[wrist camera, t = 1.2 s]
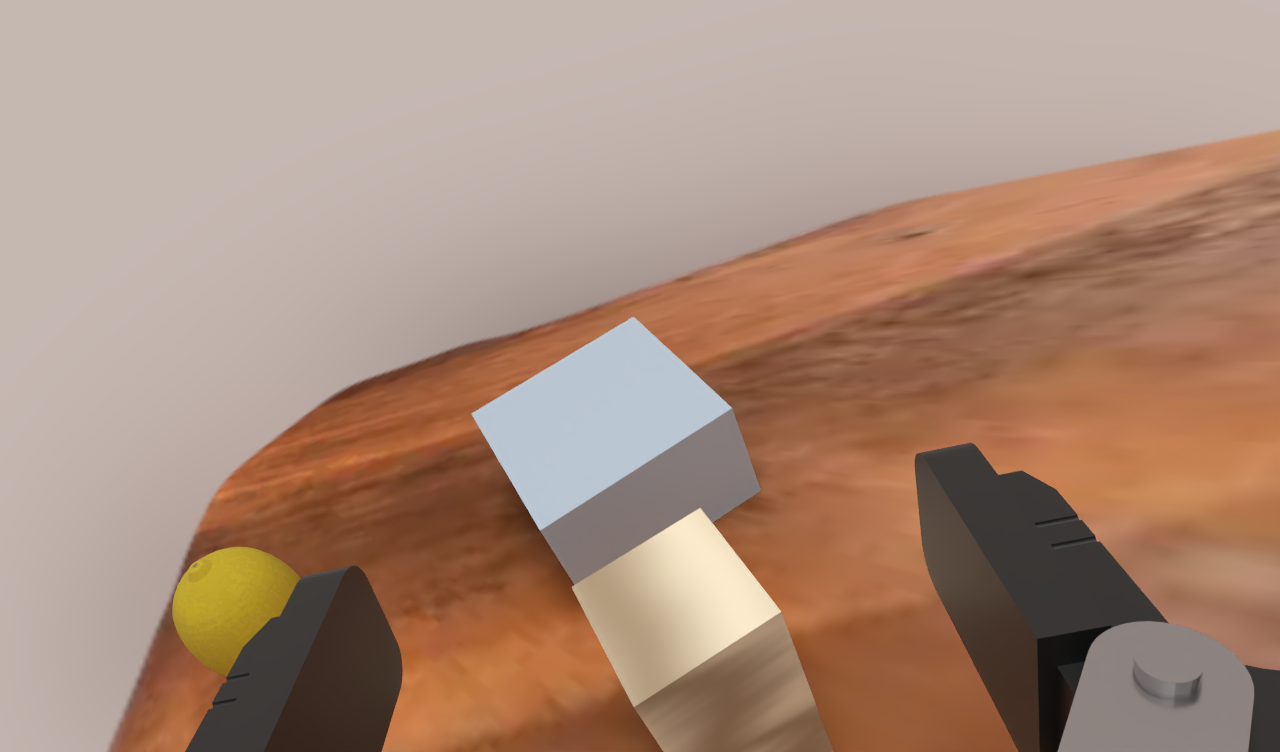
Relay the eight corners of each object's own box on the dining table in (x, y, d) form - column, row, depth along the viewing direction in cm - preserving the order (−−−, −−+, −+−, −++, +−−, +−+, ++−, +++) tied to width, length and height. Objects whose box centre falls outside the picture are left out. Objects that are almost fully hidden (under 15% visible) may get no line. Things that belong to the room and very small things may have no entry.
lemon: (364, 637, 42) (271, 542, 37) (275, 730, 40) (162, 641, 35) (312, 593, 46) (221, 501, 41) (227, 675, 43) (119, 588, 38)
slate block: (666, 395, 49) (633, 316, 45) (762, 493, 41) (732, 408, 37) (517, 487, 47) (471, 413, 43) (589, 607, 39) (540, 530, 36)
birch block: (764, 659, 34) (700, 507, 28) (837, 761, 31) (781, 611, 24) (661, 727, 34) (571, 586, 27) (722, 841, 30) (633, 707, 24)
